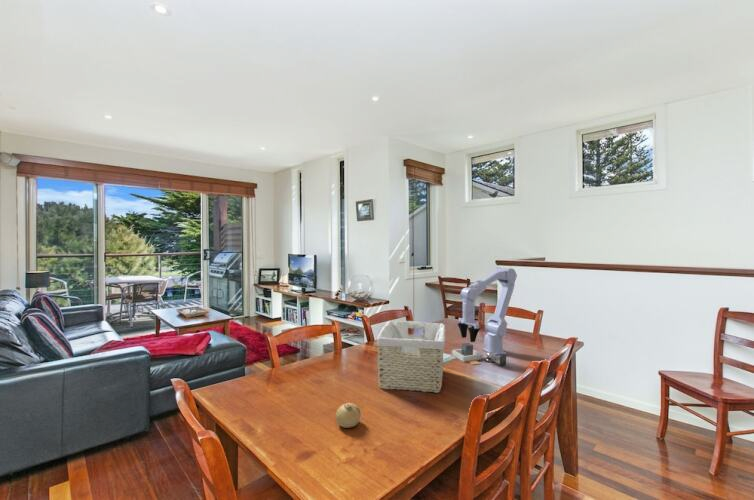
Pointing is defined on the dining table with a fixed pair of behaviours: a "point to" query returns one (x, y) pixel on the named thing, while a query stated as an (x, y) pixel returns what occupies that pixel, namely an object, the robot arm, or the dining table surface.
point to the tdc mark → (474, 362)
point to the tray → (473, 357)
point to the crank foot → (489, 360)
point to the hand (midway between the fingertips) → (468, 339)
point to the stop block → (467, 349)
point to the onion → (348, 415)
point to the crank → (497, 358)
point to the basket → (411, 356)
